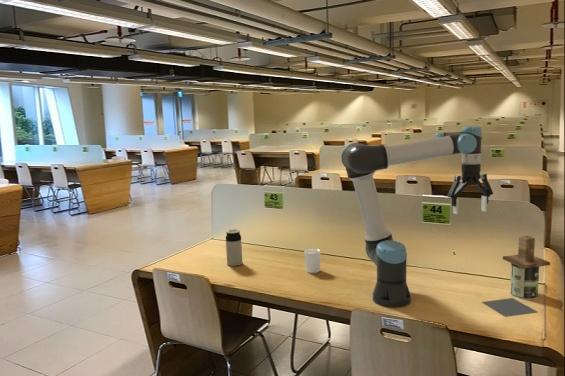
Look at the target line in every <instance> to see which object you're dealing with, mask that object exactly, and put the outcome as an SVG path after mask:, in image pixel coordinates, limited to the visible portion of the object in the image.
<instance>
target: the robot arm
mask: <svg viewBox="0 0 565 376" xmlns="http://www.w3.org/2000/svg"><path fill="white" fill-rule="evenodd" d="M458 154H461V163H462V164H461V175H457V174H455V175H454V180H453V182H452V185H451V187H450V189H449V191H448V193H447V197H448V198H450V199H451V206H452V213H453V214H454V215H459V198H458V197H459V196H460V194H461V193H462V192H463V191H464V189H465V188H466V187H467V186H476V187H477V188H478V190H479V191H480V192H481V194H482V195H481V201H480V202H481V203H480V204H481V205H480V207H481V208H480V209H481V210H480V211H481V212H485V213H486V212H487V210H488V204H489V198H490V197H491V196H492V195H493V194H494V192H493V190H492V188H491V184H490V182H489V180H488V174H487V173H484V172H483V173H482V172H481V170H482V169H481V168H482V166H481V163H482V162H481V161H482V128H481V127H480V126H463V127H462V129H461V131H455V132H453V131H452V132H451V131H448V132H444V131H443V132H437V133H435V135H434V137H433V138H428V139H423V140H416V141H412V142H411V141H410V142H404V143H399V144H393V145H389V146H387V145H385V144H377V145H368V144H363V143H361V142H353V143H349V144H348V145H346V146H345V147H344V148H343V149H342V152H341V156H340V160H341V162H342V165H343V166H344V167H345V171H346V174H347V178H348V179H349V180H351V181H352V183H353V187H354V191H355V195H356V198H357V202H358V206H359V209H360V213H361V216H362V217H361V218H362V222H363V225H364V228H365V233H366V234H364V237H363V239H364V242H365V253H366V255H367V257H368V259H370V261H372V262H373V264H374V265H375V266H376V283H375V285H374V289H373V291H372V301H373V302H374V303H375V304H377V305H379V306H381V307H388V308H389V307H390V308H401V307H405V306H408V305H409V304H410V303H411V298H412V296H411V292H410V289H409V287H408V284H407V261H408V260H407V257H408V253H407V248H406V246H405V244H404V243H402V242H400V241H397V240H394V238H393V235H392V234H393V233H392V231H391V230H390V229H388V228H387V225H386V223H385V218H384V214H383V211H382V206H381V203H380V202H381V201H380V199H379V194H378V192H377V187H376V184H375V180H374V175H375V173H376V172H377V171H382V170H386V169H388V168H389V167H390V166H394V165H400V164H405V163H406V164H407V163H412V162H418V161H423V160H429V159H432V158H433V159H434V158H435V159H436V158H439V157H444V156H450V155H451V156H452V155H458ZM480 180H481V181H480ZM481 182H482V183H481Z"/></svg>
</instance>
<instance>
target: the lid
mask: <svg viewBox="0 0 565 376" xmlns="http://www.w3.org/2000/svg"><path fill="white" fill-rule="evenodd" d="M535 241H536V238H535V237H532V236H529V235H523V236H518V252H517V254H514V255H513V254H511V255H503V256H502V260H504V261H506V262H508V263H510V264H511V263H512V264H515V265H517V266H519V267H521V268H530V267H539V268H540V267H546V266H551V262H550V261H548V260H545V259H543V258H540V257H538V256H536V255H535V243H536V242H535Z"/></svg>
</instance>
